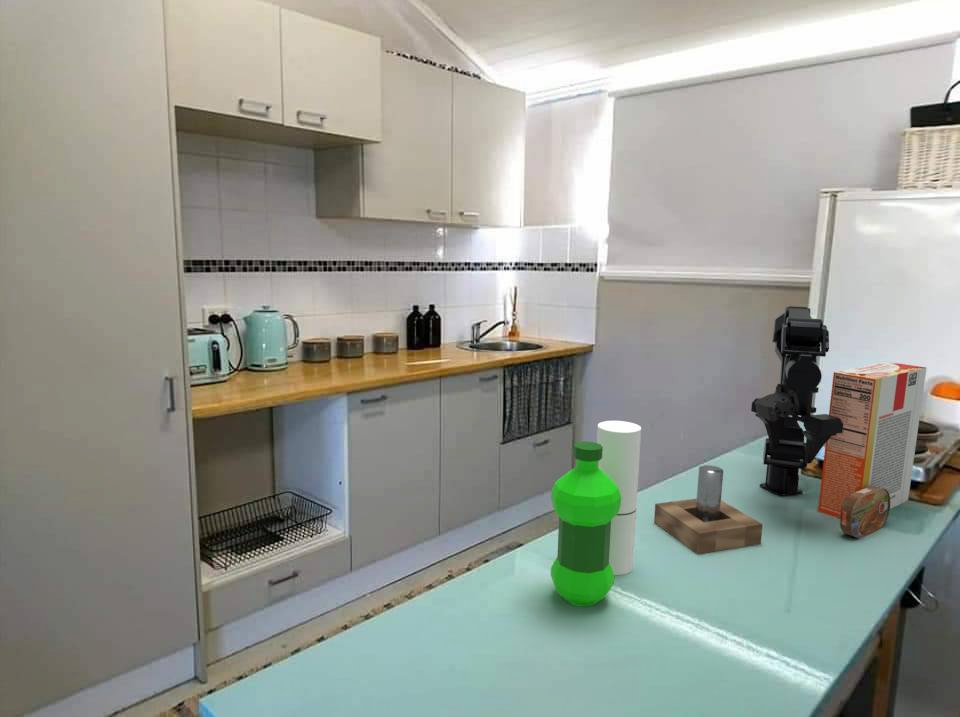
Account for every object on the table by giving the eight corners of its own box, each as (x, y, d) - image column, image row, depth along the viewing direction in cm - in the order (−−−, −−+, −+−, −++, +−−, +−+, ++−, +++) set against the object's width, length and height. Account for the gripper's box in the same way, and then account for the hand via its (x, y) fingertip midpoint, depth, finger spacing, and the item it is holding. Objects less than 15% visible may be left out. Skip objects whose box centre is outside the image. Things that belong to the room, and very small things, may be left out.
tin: (850, 543, 124) (855, 501, 123) (834, 536, 127) (838, 495, 125) (889, 525, 132) (894, 485, 131) (873, 519, 135) (878, 480, 133)
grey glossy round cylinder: (692, 527, 130) (697, 464, 127) (715, 529, 129) (721, 466, 127) (695, 537, 125) (701, 472, 123) (719, 539, 125) (725, 474, 122)
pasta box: (869, 489, 152) (886, 361, 146) (908, 500, 145) (926, 367, 140) (817, 511, 139) (833, 372, 133) (857, 524, 132) (875, 379, 127)
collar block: (654, 522, 132) (655, 503, 131) (712, 514, 136) (713, 496, 135) (697, 554, 119) (699, 533, 118) (760, 544, 123) (762, 524, 122)
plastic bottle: (622, 591, 106) (631, 442, 101) (599, 623, 97) (608, 461, 92) (565, 574, 110) (571, 432, 106) (538, 603, 102) (543, 449, 97)
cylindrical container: (630, 556, 117) (638, 421, 113) (635, 576, 110) (644, 433, 106) (589, 554, 118) (596, 419, 113) (592, 573, 111) (599, 431, 106)
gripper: (733, 373, 137) (727, 445, 140) (802, 393, 119) (793, 475, 122) (776, 371, 140) (769, 441, 143) (849, 390, 123) (840, 469, 126)
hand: (790, 455), depth 133 cm, fingers open, 9 cm apart
